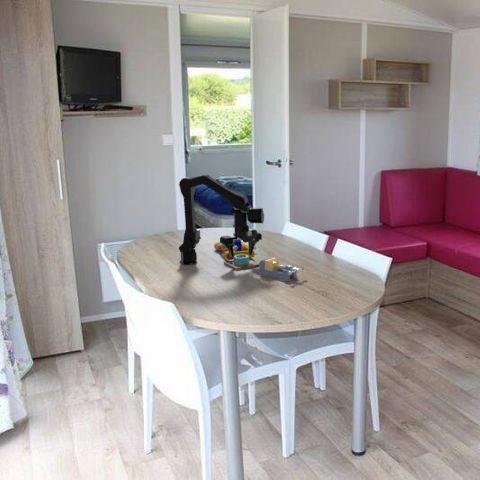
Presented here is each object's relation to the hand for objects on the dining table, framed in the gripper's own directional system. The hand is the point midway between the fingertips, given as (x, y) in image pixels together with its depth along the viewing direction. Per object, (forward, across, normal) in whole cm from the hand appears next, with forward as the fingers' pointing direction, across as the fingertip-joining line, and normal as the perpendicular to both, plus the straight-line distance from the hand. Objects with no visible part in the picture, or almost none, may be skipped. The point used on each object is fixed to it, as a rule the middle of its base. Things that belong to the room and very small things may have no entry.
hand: (241, 256), depth 242 cm
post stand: (+4, 0, 0) cm, 4 cm away
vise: (+4, +6, -23) cm, 25 cm away
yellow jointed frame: (+4, +7, +16) cm, 18 cm away
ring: (+3, 0, 0) cm, 3 cm away
